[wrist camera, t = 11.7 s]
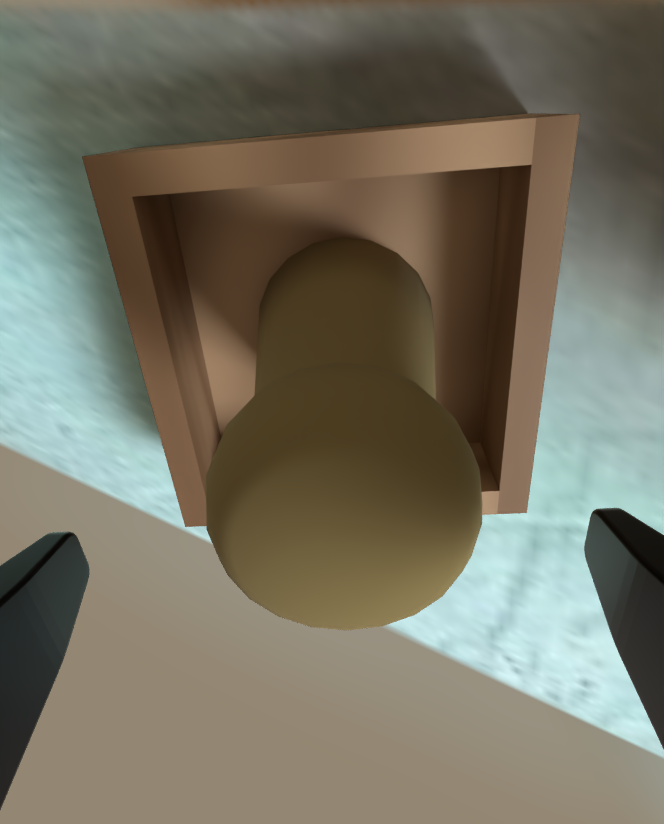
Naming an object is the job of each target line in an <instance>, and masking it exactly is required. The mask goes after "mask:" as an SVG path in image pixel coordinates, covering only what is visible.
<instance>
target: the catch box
mask: <svg viewBox="0 0 664 824" xmlns="http://www.w3.org/2000/svg"><path fill="white" fill-rule="evenodd" d="M579 118H580V114H519V115H508V116H496V117H484V118H473V119H461V120H450V121H438V122H426V123H415V124H403V125H392V126H380V127H369V128H357V129H345V130H334V131H322V132H311V133H299V134H288V135H276V136H264V137H253V138H241V139H230V140H218V141H206V142H195V143H183V144H172V145H160V146H149V147H138V148H132V149H126V150H120V151H113V152H107V153H101V154H95V155H89V156H83V157H82V158H83V162H84V165H85V169H86V172H87V176H88V180H89V183H90V187H91V190H92V194H93V198H94V201H95V205H96V208H97V212H98V215H99V219H100V223H101V226H102V230H103V233H104V237H105V241H106V244H107V248H108V251H109V255H110V258H111V262H112V266H113V269H114V273H115V276H116V280H117V284H118V287H119V291H120V294H121V298H122V302H123V305H124V309H125V312H126V316H127V319H128V323H129V327H130V330H131V334H132V337H133V341H134V345H135V348H136V352H137V355H138V359H139V362H140V366H141V370H142V373H143V377H144V380H145V384H146V388H147V391H148V395H149V398H150V402H151V405H152V409H153V413H154V416H155V420H156V423H157V427H158V431H159V434H160V438H161V441H162V445H163V448H164V452H165V456H166V459H167V463H168V466H169V470H170V474H171V477H172V481H173V484H174V488H175V491H176V495H177V499H178V502H179V506H180V509H181V513H182V517H183V520H184V524H185V527H192V526H207V521H206V474H207V472H208V469H209V467H210V464H211V462H212V460H213V457H214V455H215V452H216V450H217V447H218V445H219V442H220V440H221V438H222V435H223V433H224V430H225V428H226V426H227V424H228V423H229V422H230V421H231V420H232V419H233V418H234V417H235V416H236V415H237V414H238V412H239V411H240V410H241V409H242V408H243V407H244V406H245V405H246V404H247V403H248V402H249V401H250V400H251V399H252V398H253V397H254V394H255V377H256V359H257V342H258V325H259V307H260V303H261V300H262V298H263V295H264V292H265V290H266V287H267V285H268V282H269V280H270V278H271V277H272V276H273V275H274V274H275V273H276V271H277V270H278V269H279V268H280V267H281V266H282V264H283V263H284V262H285V261H286V260H287V259H288V258H289V257H291V256H292V255H294V254H296V253H297V252H299V251H301V250H302V249H304V248H306V247H308V246H309V245H311V244H313V243H317V242H322V241H327V240H331V239H336V238H341V237H344V238H353V239H361V240H370V241H373V242H375V243H377V244H380V245H382V246H384V247H386V248H388V249H390V250H392V251H394V252H396V253H398V254H399V255H400V256H401V257H402V258H403V259H404V260H405V261H406V262H407V263H408V264H410V265H411V266H412V267H413V268H414V269H415V270H416V271H417V272H418V273H419V275H420V277H421V279H422V282H423V284H424V286H425V288H426V290H427V292H428V294H429V296H430V298H431V305H432V313H433V322H434V349H435V384H436V401H437V402H438V403H440V404H441V405H442V406H443V407H444V408H445V409H446V410H447V411H448V412H449V413H450V414H451V415H452V416H453V417H455V419H456V421H457V423H458V425H459V427H460V428H461V430H462V432H463V434H464V436H465V438H466V440H467V442H468V443H469V445H470V447H471V449H472V451H473V454H474V456H475V459H476V461H477V464H478V466H479V470H480V481H481V492H482V503H483V507H482V515H484V514H509V513H527V507H528V499H529V492H530V484H531V477H532V469H533V462H534V454H535V447H536V439H537V432H538V424H539V417H540V409H541V402H542V394H543V387H544V380H545V372H546V365H547V357H548V350H549V342H550V335H551V327H552V320H553V312H554V305H555V297H556V290H557V282H558V275H559V267H560V260H561V253H562V245H563V238H564V230H565V223H566V215H567V208H568V200H569V193H570V185H571V178H572V170H573V163H574V155H575V148H576V140H577V133H578V126H579Z"/></svg>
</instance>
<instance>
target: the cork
mask: <svg viewBox="0 0 664 824" xmlns="http://www.w3.org/2000/svg"><path fill="white" fill-rule="evenodd" d="M482 507H483V503H482V492H481V481H480V470H479V466H478V464H477V461H476V459H475V456H474V454H473V451H472V449H471V447H470V445H469V443H468V442H467V440H466V438H465V436H464V434H463V432H462V430H461V428H460V427H459V425H458V423H457V421H456V419H455V417H453V416H452V415H451V414H450V413H449V412H448V411H447V410H446V409H445V408H444V407H443V406H442V405H441V404H440V403H438V402H437V401H436V384H435V349H434V322H433V313H432V305H431V298H430V296H429V294H428V292H427V290H426V288H425V286H424V284H423V282H422V279H421V277H420V275H419V273H418V272H417V271H416V270H415V269H414V268H413V267H412V266H411V265H410V264H408V263H407V262H406V261H405V260H404V259H403V258H402V257H401V256H400V255H399V254H398V253H396V252H394V251H392V250H390V249H388V248H386V247H384V246H382V245H380V244H377V243H375V242H373V241H370V240H361V239H353V238H344V237H341V238H336V239H331V240H327V241H322V242H317V243H313V244H311V245H309V246H308V247H306V248H304V249H302V250H301V251H299V252H297V253H296V254H294V255H292V256H291V257H289V258H288V259H287V260H286V261H285V262H284V263H283V264H282V266H281V267H280V268H279V269H278V270H277V271H276V273H275V274H274V275H273V276H272V277H271V278H270V280H269V282H268V285H267V287H266V290H265V292H264V295H263V298H262V300H261V303H260V307H259V325H258V342H257V359H256V377H255V394H254V397H253V398H252V399H251V400H250V401H249V402H248V403H247V404H246V405H245V406H244V407H243V408H242V409H241V410H240V411H239V412H238V414H237V415H236V416H235V417H234V418H233V419H232V420H231V421H230V422H229V423H228V424H227V426H226V428H225V430H224V433H223V435H222V438H221V440H220V442H219V445H218V447H217V450H216V452H215V455H214V457H213V460H212V462H211V464H210V467H209V469H208V472H207V474H206V521H207V531H208V534H209V536H210V538H211V541H212V543H213V545H214V548H215V550H216V552H217V554H218V557H219V559H220V561H221V563H222V565H223V567H224V569H225V571H226V573H227V575H228V576H229V577H230V578H231V579H232V580H233V581H234V583H236V585H237V586H238V587H239V588H240V589H241V590H242V591H243V592H244V593H245V595H246V596H247V597H248V598H249V599H251V600H252V601H254V602H255V603H257V604H259V605H260V606H262V607H264V608H265V609H267V610H269V611H270V612H272V613H274V614H275V615H277V616H279V617H282V618H285V619H288V620H292V621H294V622H297V623H301V624H304V625H307V626H310V627H317V628H328V629H338V630H353V629H363V628H370V627H380V626H384V625H387V624H390V623H393V622H396V621H398V620H401V619H404V618H407V617H410V616H413V615H415V614H417V613H418V612H420V611H421V610H423V609H424V608H426V607H427V606H429V605H430V604H432V603H433V602H435V601H436V600H438V599H439V598H441V597H442V596H443V595H444V594H445V592H446V591H447V590H448V589H449V587H450V586H451V585H452V584H453V583H454V581H455V580H456V579H457V578H458V576H459V575H460V574H461V573H462V571H463V569H464V568H465V566H466V564H467V563H468V561H469V559H470V557H471V556H472V553H473V550H474V547H475V543H476V540H477V537H478V534H479V531H480V528H481V525H482Z"/></svg>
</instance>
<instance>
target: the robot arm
mask: <svg viewBox="0 0 664 824" xmlns="http://www.w3.org/2000/svg"><path fill="white" fill-rule="evenodd" d="M584 551H585V557H586V561H587V564H588V567H589V570H590V573H591V576H592V579H593V582H594V585H595V588H596V591H597V593H598V596H599V599H600V602H601V605H602V608H603V611H604V614H605V617H606V620H607V623H608V626H609V629H610V632H611V634H612V637H613V640H614V643H615V645H616V647H617V650H618V652H619V654H620V657H621V659H622V661H623V663H624V665H625V667H626V670H627V672H628V674H629V676H630V678H631V680H632V682H633V685H634V687H635V689H636V691H637V693H638V695H639V697H640V700H641V702H642V704H643V706H644V708H645V710H646V712H647V715H648V717H649V719H650V721H651V723H652V725H653V727H654V730H655V732H656V734H657V736H658V738H659V740H660V743H661V745H662V747H663V749H664V535H663V534H661V533H659V532H658V531H656V530H654V529H653V528H651V527H650V526H648V525H646V524H645V523H643V522H642V521H640V520H638V519H637V518H635V517H634V516H632V515H630V514H629V513H627V512H626V511H624V510H622V509H619V508H603V509H596V510H594V511H593V512H592V514H591V517H590V522H589V526H588V531H587V536H586V541H585V546H584ZM88 578H89V565H88V562H87V559H86V557H85V555H84V552H83V550H82V547H81V545H80V542H79V540H78V538H77V536H76V535H75V534H74V533H72V532H53V533H49V534H47V535H45V536H44V537H42V538H41V539H39V540H38V541H36V542H35V543H33V544H32V545H30V546H29V547H27V548H26V549H25V550H23V551H21V552H20V553H18V554H17V555H16V556H14V557H12V558H11V559H9V560H8V561H6V562H5V563H4V564H2V565H1V566H0V810H1V807H2V805H3V802H4V800H5V798H6V795H7V793H8V791H9V788H10V786H11V784H12V781H13V779H14V776H15V774H16V772H17V769H18V767H19V765H20V762H21V760H22V757H23V755H24V753H25V750H26V748H27V746H28V743H29V741H30V738H31V736H32V734H33V731H34V729H35V727H36V724H37V722H38V719H39V717H40V715H41V712H42V710H43V708H44V705H45V703H46V700H47V698H48V696H49V693H50V691H51V689H52V686H53V684H54V681H55V679H56V677H57V674H58V672H59V669H60V667H61V664H62V662H63V659H64V656H65V653H66V650H67V647H68V644H69V641H70V638H71V634H72V631H73V628H74V624H75V621H76V618H77V615H78V612H79V608H80V605H81V602H82V599H83V595H84V592H85V589H86V585H87V582H88Z"/></svg>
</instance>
